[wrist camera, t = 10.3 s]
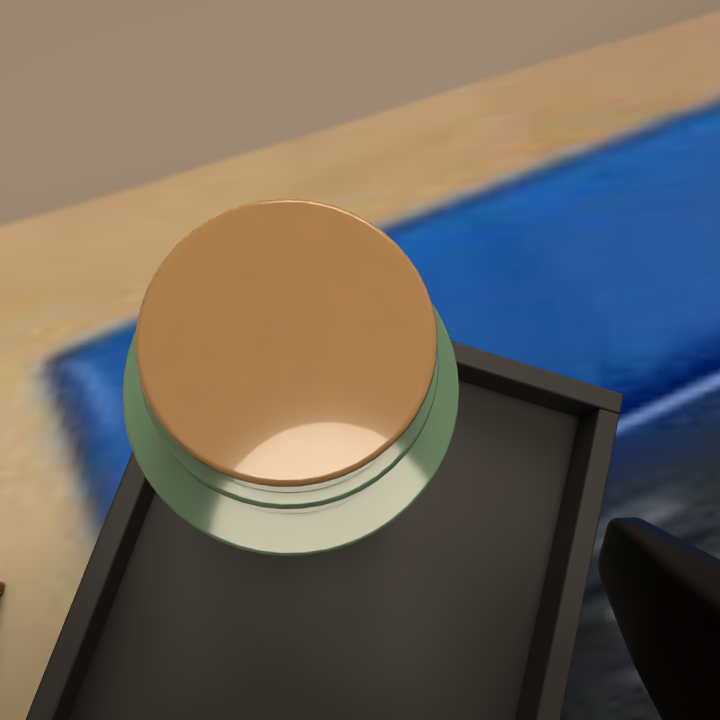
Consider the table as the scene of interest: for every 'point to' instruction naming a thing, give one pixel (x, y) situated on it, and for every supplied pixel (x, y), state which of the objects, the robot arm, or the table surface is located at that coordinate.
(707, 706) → the robot arm
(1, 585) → the panel
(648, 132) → the table surface
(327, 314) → the jar
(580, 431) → the baking tray
